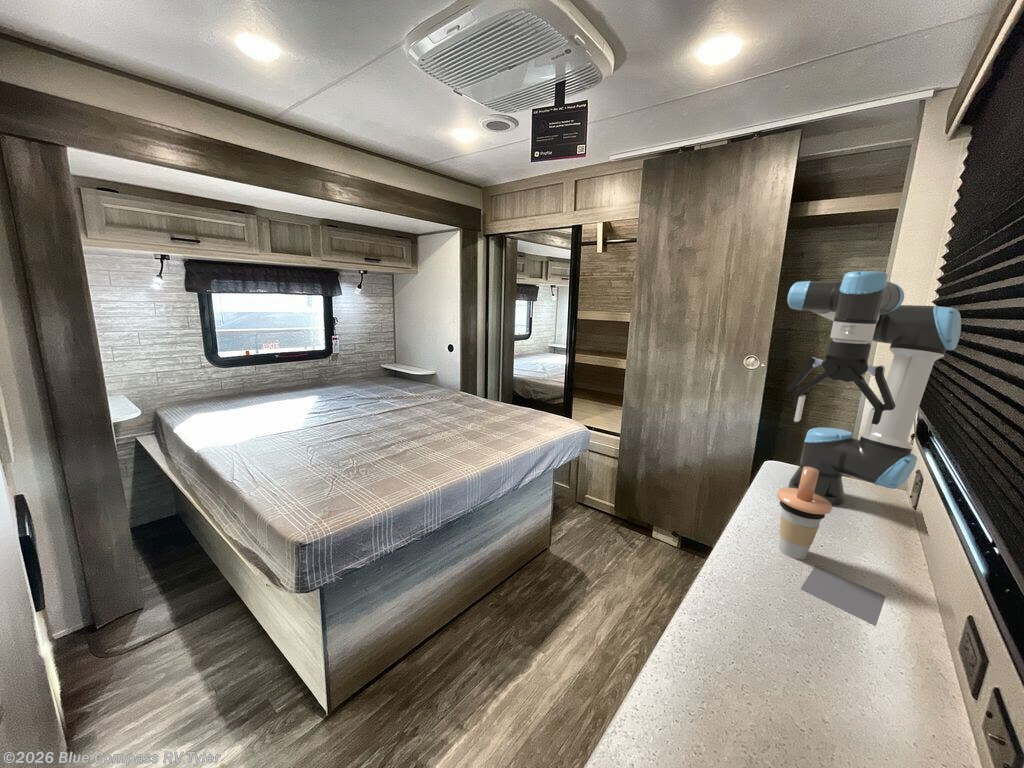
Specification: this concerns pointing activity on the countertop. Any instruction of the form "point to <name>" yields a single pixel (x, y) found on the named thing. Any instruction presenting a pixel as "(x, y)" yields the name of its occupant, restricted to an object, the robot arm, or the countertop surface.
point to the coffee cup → (797, 531)
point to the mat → (844, 594)
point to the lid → (805, 494)
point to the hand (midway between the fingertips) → (829, 428)
